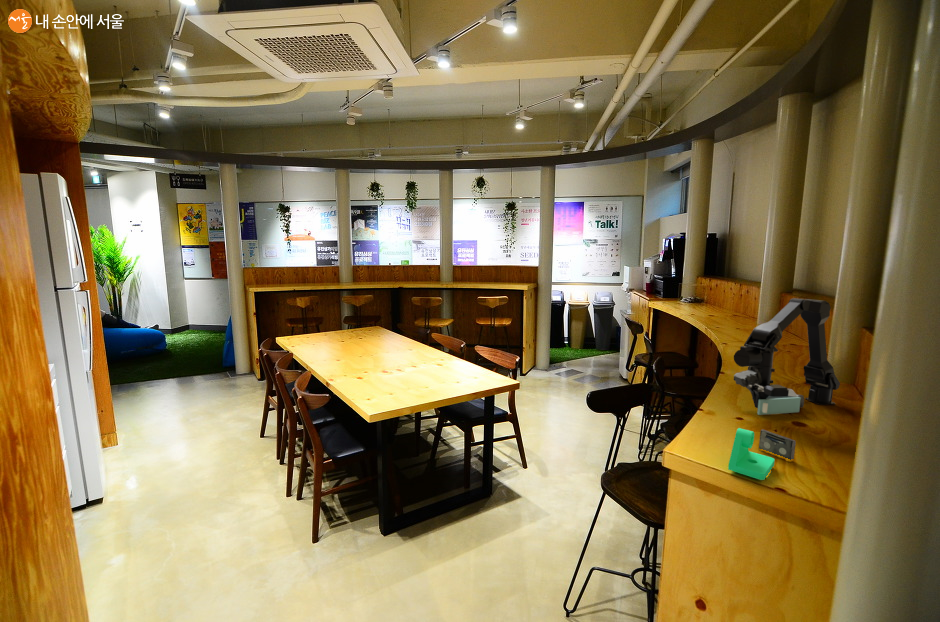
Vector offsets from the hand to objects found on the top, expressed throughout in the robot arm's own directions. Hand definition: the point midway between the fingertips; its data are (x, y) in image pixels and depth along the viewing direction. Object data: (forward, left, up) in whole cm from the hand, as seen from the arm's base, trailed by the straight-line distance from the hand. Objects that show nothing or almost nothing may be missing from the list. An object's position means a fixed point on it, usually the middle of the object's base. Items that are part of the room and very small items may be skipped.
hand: (757, 407), depth 153 cm
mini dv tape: (+18, +31, -2) cm, 36 cm away
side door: (-6, +3, -1) cm, 7 cm away
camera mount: (+31, +39, -2) cm, 50 cm away
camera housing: (-13, -6, -2) cm, 14 cm away
